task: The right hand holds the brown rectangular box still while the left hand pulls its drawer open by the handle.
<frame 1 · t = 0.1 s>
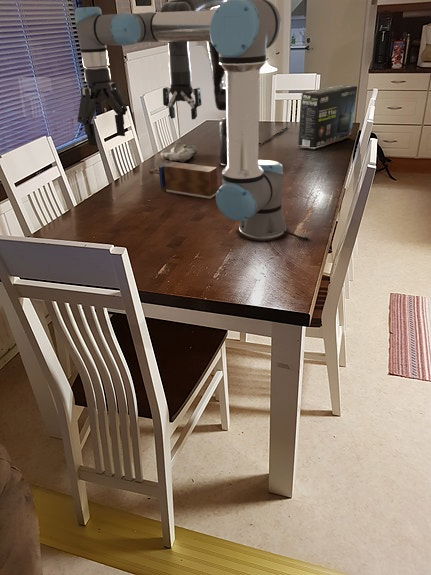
left hand: (183, 118, 167), 29 cm above the table, tool pointing down, fingers open, 8 cm apart
right hand: (107, 140, 148), 28 cm above the table, tool pointing down, fingers open, 13 cm apart
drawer: (177, 177, 185), point 5 cm above the table, slide at 1.9 cm
router box: (325, 143, 245), on the table
brown rectangular box: (191, 192, 185), on the table
fossil: (178, 158, 230), on the table
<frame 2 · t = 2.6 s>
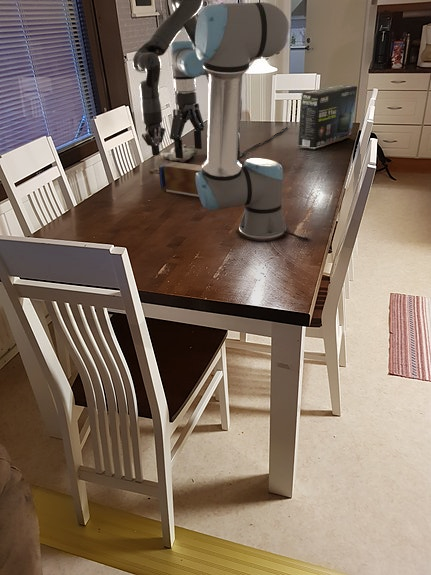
left hand: (156, 155, 185), 13 cm above the table, tool pointing down, fingers closed
right hand: (189, 153, 170), 18 cm above the table, tool pointing down, fingers open, 13 cm apart
nothing on the table moved.
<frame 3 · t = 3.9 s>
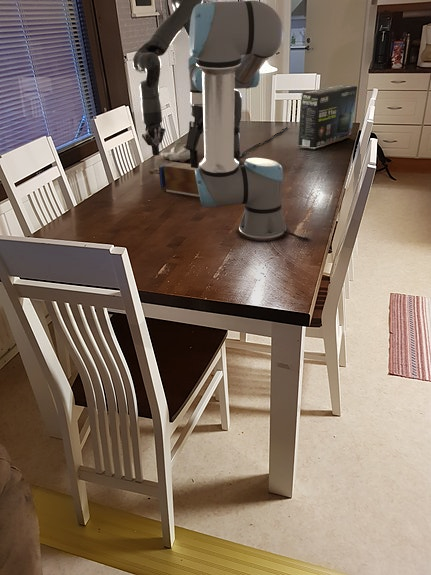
left hand: (156, 155, 185), 13 cm above the table, tool pointing down, fingers closed
right hand: (203, 162, 176), 13 cm above the table, tool pointing down, fingers open, 13 cm apart
nothing on the table moved.
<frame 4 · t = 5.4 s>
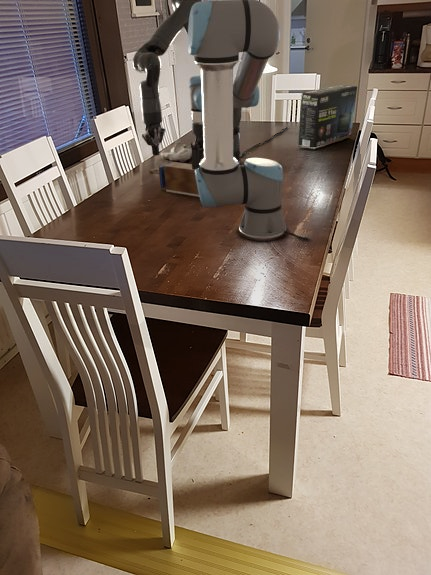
left hand: (156, 155, 185), 13 cm above the table, tool pointing down, fingers closed
right hand: (205, 183, 180), 5 cm above the table, tool pointing down, fingers closed on brown rectangular box, 6 cm apart
brown rectangular box: (191, 192, 185), on the table, touching right hand
everything else where it was.
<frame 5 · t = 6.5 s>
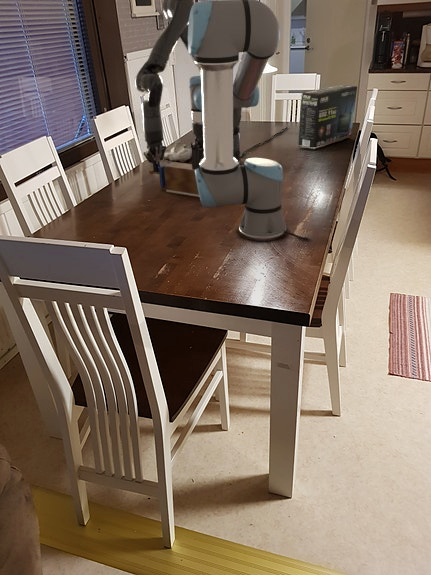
left hand: (157, 172, 189), 7 cm above the table, tool pointing down, fingers closed
right hand: (204, 183, 180), 5 cm above the table, tool pointing down, fingers closed on brown rectangular box, 6 cm apart
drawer: (177, 177, 185), point 5 cm above the table, slide at 1.9 cm, touching left hand
brown rectangular box: (191, 192, 185), on the table, touching right hand
everything else where it was.
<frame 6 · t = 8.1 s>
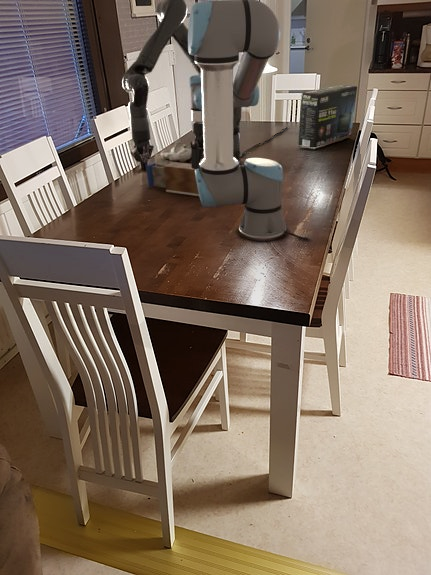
left hand: (144, 170, 192), 6 cm above the table, tool pointing down, fingers closed
right hand: (204, 182, 180), 5 cm above the table, tool pointing down, fingers closed on brown rectangular box, 6 cm apart
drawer: (164, 176, 188), point 5 cm above the table, slide at 8.0 cm, touching left hand
brown rectangular box: (191, 192, 185), on the table, touching right hand
everything else where it was.
when the right hand's fingers open (5 cm above the table, at t = 9.4 s): brown rectangular box stays where it is, on the table.
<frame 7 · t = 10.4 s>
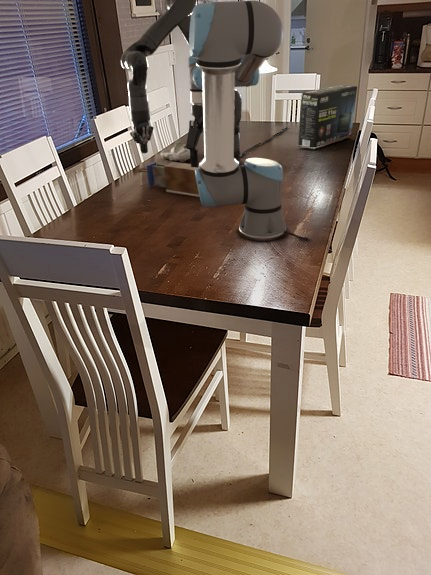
left hand: (144, 152, 188), 14 cm above the table, tool pointing down, fingers closed
right hand: (204, 162, 176), 13 cm above the table, tool pointing down, fingers open, 13 cm apart
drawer: (165, 176, 188), point 5 cm above the table, slide at 8.0 cm
brown rectangular box: (191, 192, 185), on the table
everything else where it was.
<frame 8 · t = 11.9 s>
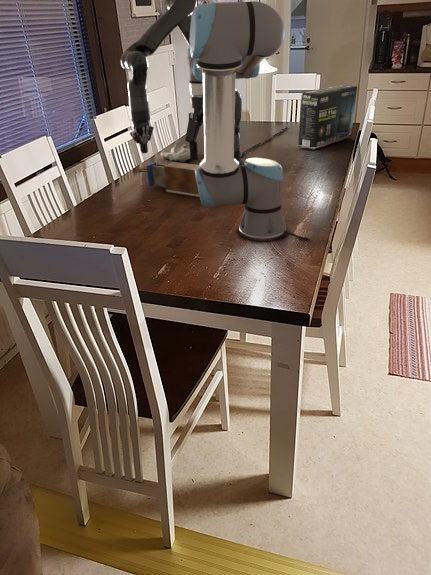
left hand: (144, 152, 188), 14 cm above the table, tool pointing down, fingers closed
right hand: (203, 155, 174), 16 cm above the table, tool pointing down, fingers open, 13 cm apart
nothing on the table moved.
at the end: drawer slide at 8.0 cm; brown rectangular box tilted 0°; brown rectangular box never tilted more than 2° during the clip; brown rectangular box moved 0.0 cm from its start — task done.
